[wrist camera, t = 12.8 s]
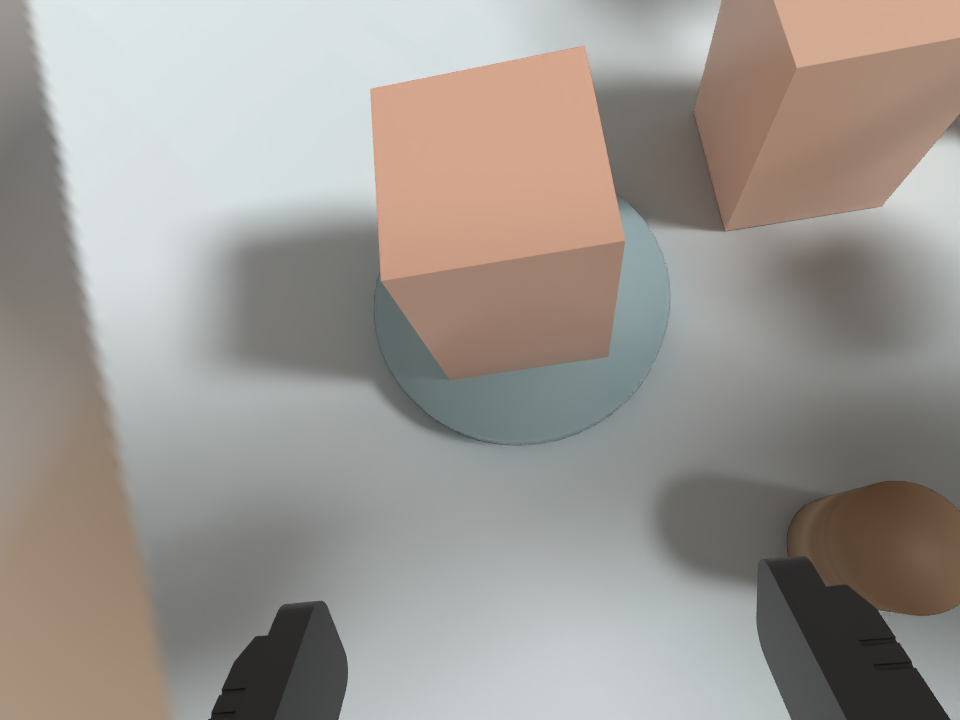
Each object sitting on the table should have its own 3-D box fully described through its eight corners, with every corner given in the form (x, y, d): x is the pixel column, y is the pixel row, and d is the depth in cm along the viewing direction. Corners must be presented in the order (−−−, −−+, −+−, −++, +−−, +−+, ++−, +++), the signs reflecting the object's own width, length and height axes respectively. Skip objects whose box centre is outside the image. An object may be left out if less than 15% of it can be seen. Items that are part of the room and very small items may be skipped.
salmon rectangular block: (582, 217, 26) (585, 45, 17) (608, 357, 24) (625, 240, 15) (437, 242, 26) (370, 88, 18) (449, 380, 24) (380, 281, 16)
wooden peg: (881, 491, 22) (954, 473, 18) (914, 600, 21) (1000, 609, 16) (775, 502, 22) (821, 488, 18) (801, 609, 21) (858, 621, 17)
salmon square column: (837, 85, 27) (955, -133, 19) (881, 206, 25) (1036, 23, 17) (693, 111, 28) (743, -87, 19) (724, 231, 26) (796, 68, 17)
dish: (637, 161, 27) (639, 144, 26) (694, 424, 23) (700, 417, 22) (376, 207, 29) (368, 192, 28) (389, 463, 25) (380, 458, 24)
